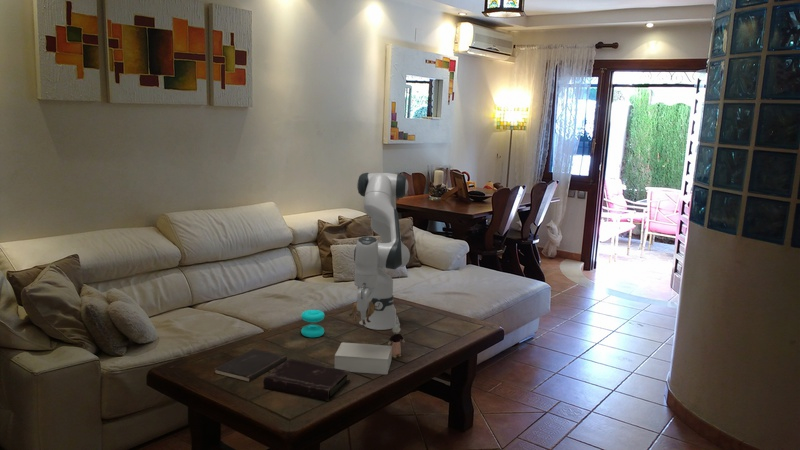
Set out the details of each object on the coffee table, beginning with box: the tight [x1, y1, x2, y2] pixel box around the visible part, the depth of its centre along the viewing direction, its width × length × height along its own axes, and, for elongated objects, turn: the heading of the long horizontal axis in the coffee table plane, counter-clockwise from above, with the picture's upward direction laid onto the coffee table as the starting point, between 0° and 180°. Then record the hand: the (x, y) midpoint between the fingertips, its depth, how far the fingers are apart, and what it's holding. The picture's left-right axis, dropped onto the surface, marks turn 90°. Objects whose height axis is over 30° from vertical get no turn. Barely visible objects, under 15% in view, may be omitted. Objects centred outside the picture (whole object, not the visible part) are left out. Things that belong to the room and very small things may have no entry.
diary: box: [262, 358, 351, 402], centre depth 221 cm, size 19×25×5 cm
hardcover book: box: [213, 348, 288, 383], centre depth 235 cm, size 16×23×2 cm
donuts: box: [300, 309, 325, 339], centre depth 271 cm, size 10×10×10 cm
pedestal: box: [333, 341, 393, 375], centre depth 239 cm, size 14×20×6 cm
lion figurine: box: [349, 301, 377, 326], centre depth 238 cm, size 15×5×9 cm, turn 45°
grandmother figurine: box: [387, 325, 406, 358], centre depth 250 cm, size 8×4×13 cm, turn 135°
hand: (365, 315), depth 236 cm, fingers closed on lion figurine, 7 cm apart
